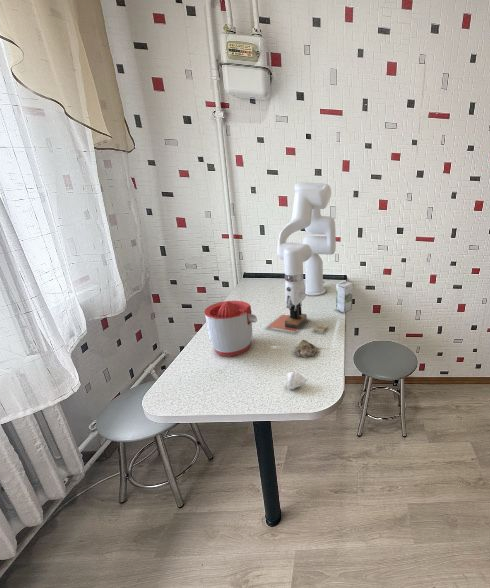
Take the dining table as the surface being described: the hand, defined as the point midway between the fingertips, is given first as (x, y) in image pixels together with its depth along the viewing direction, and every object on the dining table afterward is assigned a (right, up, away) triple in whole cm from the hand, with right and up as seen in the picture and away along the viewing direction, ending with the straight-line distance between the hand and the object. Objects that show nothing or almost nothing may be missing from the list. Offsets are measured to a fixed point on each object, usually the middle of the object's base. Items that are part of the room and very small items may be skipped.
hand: (296, 316), depth 145 cm
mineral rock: (+8, -13, -17) cm, 23 cm away
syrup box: (+19, +1, +20) cm, 27 cm away
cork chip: (+11, -6, -1) cm, 13 cm away
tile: (-4, -4, +2) cm, 6 cm away
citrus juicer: (-18, -12, -19) cm, 29 cm away
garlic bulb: (+10, -21, -38) cm, 44 cm away
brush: (0, -3, +1) cm, 4 cm away
